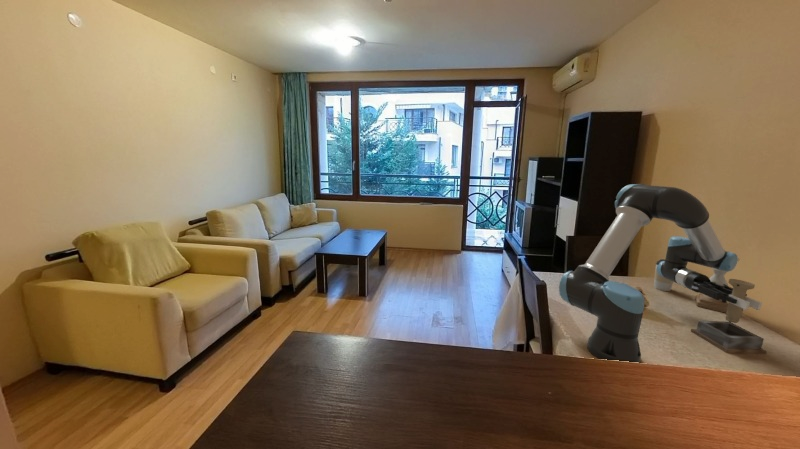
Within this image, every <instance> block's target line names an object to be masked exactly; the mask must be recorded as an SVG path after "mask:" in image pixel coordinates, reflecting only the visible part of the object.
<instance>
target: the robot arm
mask: <svg viewBox="0 0 800 449" xmlns="http://www.w3.org/2000/svg"><path fill="white" fill-rule="evenodd" d="M615 199H616V200H615V201H614V208H615V214H616V216H615V219H614V220H613V221H612V223H611V224H610V226H609V227H608V229H607V230H606V231H605V233H604V235H603V236H602V238H601V239H600V241H599V242H598V244H597V246H595V248H594V250H593V251H592V253H591V254H590V256H589V257H588V259H587V260H586V261H585V263H584V264H579V265H578V266H577V267H576V268H575V269H574V271H573V270H568V271H566V272H564V273H563V275H562V276H561V278H560V280H559V284H558V292H559V296H560V297H561V299H562V300H563V301H564V302H566V303H568V304H569V305H571V306H572V307H576V308H578V309H581V310H582V311H584V312H586V313H588V314H591V315H593V316H596V317H597V320H596V326H595V328H594V329H593V331H592V333H591V334H590V336H589V337H588V338H587V345H586V348H587V349H588V351H589V352H590V354H592V355H593V356H595V357H596V358H598V359H600V360H601V359H607V360H619V361H629V362H640V363H641V359H642V352H641V347H640V343H639V333H640V330H641V323H642V320H643V315H644V311H645V300H646V299H645V296H644V294H643V293H642V292H641V291H640V290H639V289H637V288H635V287H634V286H631V285H628V284H626V283H624V282H618V281H613V280H610V278H609V277H610V276H611V274H612V273H613V271H614V269H615V268H616V266H617V265H618V263H619V262H620V260H621V258H622V257H623V255H625V253H626V251H627V250H628V248H629V247H630V245H631V243H632V241H633V240H634V239H635V238H636V235H638V233H639V231H640V230H641V228H642V227H644V226H648V225H650V223H651V221H653V219H658V220H664V221H665V220H666V221H669V222H672V223H674V224H675V225H676V226H677V227H678V228H680V229H682V230H683V231H684V234H686V236H687V237H685V236H684V237H683V236H677V235H676V236H671V237H670V238H669V241H668V245H667V246H666V247H667V249H666V254H665V258H664V260H665V261H662V262H660V263H659V265H658V266H657V272H658V274H659V275H661V276H662V277H664V278H666V279H668V280H671V281H673V283H676V284H677V285H679V286H682V287H683V288H684V289H689V290H691V291H693V292H694V293H699V294H704V295H707V296H709V297H711V298H714V299H716V300H720V299H721V300H722V302H723V303H726V301H727V303H728V302H729V303H732V304H734V305H736V306H738V307H741V308H743V310H746V311H748V310H749V307H750V308H752V309H755V310H757V311H760V310H761V307H762V304H763V302H761V301H759V300H756V299H753V298H751V297H748V294H747V293H746V296H745V300H743V299H740V298H738V297H736V296H733V295H731V294H732V291H733V287H731V286H730V285H728V286H727V285H726V284H723V285H722V286H721V285H718V284H716V283H715V282H711V281H710V279H709V278H710V277H709V276H707V275H706V274H703V273H699V272H698V271H695V270H694V269H691V268H688V267H687V265H688V264H689V263H692V264H696V265H699V266H704V267H707V268H710V269H712V268H714V269H718V270H723V271H728V272H732V271H733V270H734V269H735V268H736V266H737V264H738V262H739V261H738V258H739V257H738V255H737V253H734V252H730V251H726V250H725V248H724V246H723V245H722V243H721V241H720V239H719V237H718V235H717V234H716V232H715V230H714V227H713V226H712V225H711V223H710V221H709V219H710V213H709V211H708V209H707V207H706V206H705V205H704V203H702V201H701V200H700V199H698V198H697V197H696V196H695V195H693V194H692V193H690V192H688V191H687V190H684V189H681V188H679V187H675V186H661V185H650V184H643V183H636V184H635V183H634V184H633V183H632V184H627V185H625V186H624V187H622V188H621V189H620V190H619V191H618V193H617V195H616V196H615Z"/></svg>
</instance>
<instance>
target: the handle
mask: <svg viewBox="0 0 800 449" xmlns="http://www.w3.org/2000/svg"><path fill="white" fill-rule="evenodd" d="M728 284H729V286H732V288H733V291H732V294H731V295H733V296H736V297H738V298H740V299H743V300H745V296H746V294H747V292H748V291H749V290H753V289H755V286H756V284H755V283H752V282H749V281H746V280H741V279H736V278H729V279H728ZM727 303H728V306H727V311H726V313H725V315H726V316H725V321H727V322H731V323H733V324H737V323H739V321H740V319H741V316H742V314H743V311H744V309H743V308H741V307H738V306H736V305H734V304H732V303H729V302H727Z"/></svg>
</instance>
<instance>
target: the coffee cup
mask: <svg viewBox="0 0 800 449" xmlns="http://www.w3.org/2000/svg"><path fill="white" fill-rule="evenodd" d="M662 261H665V258H664V259H659V260H657V261H656V262H655V268H654V269H655V270H654V282H653V283H654V285H653V287H654V288H655V289H657V290H659V291H663V292H670V291H671V289H672V287H673V283H674V282H673V281H671V280H668V279H666V278H664V277H662V276H661V275H659V274H658V272H657V266H658V265H659V263H660V262H662Z"/></svg>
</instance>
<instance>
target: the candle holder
mask: <svg viewBox="0 0 800 449" xmlns="http://www.w3.org/2000/svg"><path fill="white" fill-rule="evenodd" d="M739 261H740V258H739V257H738V261H737V262H739ZM711 269H712V270H713V274H712V276H710V277H708V278H709V279H710V281H711V282H715V283H716V284H718V285H721V286H722V285H723V284H726V285H727V286H729V285H728V284H729V283H728V282H727V280H726V278H725V275H726V274H727V273H729V271H723V270H718V269H714V268H711ZM695 306H697V307H699V308H703V309H708V310H711V311H715V312H716V311H717V312H720V313H725V314H726V311H727V306H728V302H727V301H726V303H723V302H722V300H721V299H720V300H716V299H714V298H711V297H709V296H707V295H704V294H702V293H699V294H698V295H696V296H695Z"/></svg>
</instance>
